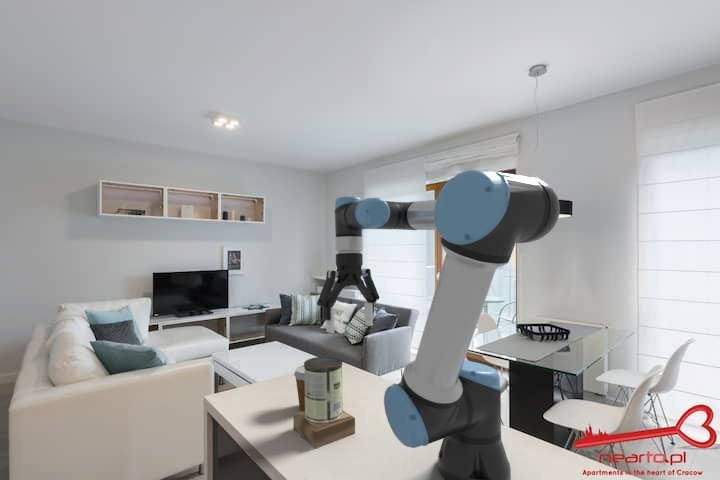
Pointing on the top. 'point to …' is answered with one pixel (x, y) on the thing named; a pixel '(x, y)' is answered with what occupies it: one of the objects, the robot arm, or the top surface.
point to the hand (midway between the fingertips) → (350, 328)
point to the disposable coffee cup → (300, 386)
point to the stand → (324, 429)
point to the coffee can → (323, 389)
